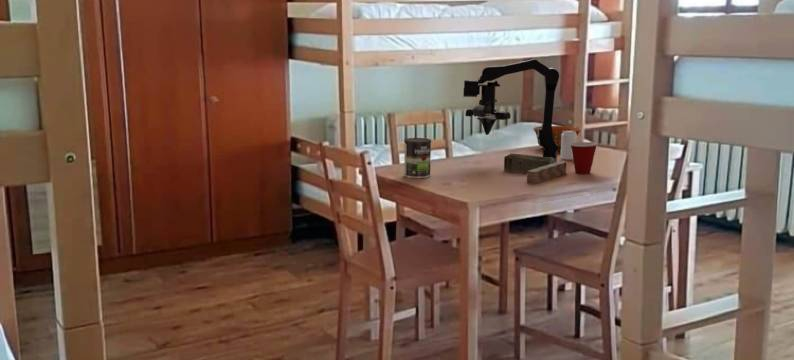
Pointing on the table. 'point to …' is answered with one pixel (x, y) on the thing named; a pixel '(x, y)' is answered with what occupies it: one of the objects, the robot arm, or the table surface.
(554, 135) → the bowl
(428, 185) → the table surface
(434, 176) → the table surface
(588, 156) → the plastic cup
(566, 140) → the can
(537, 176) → the batten
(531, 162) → the beverage carton
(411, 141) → the coffee can
